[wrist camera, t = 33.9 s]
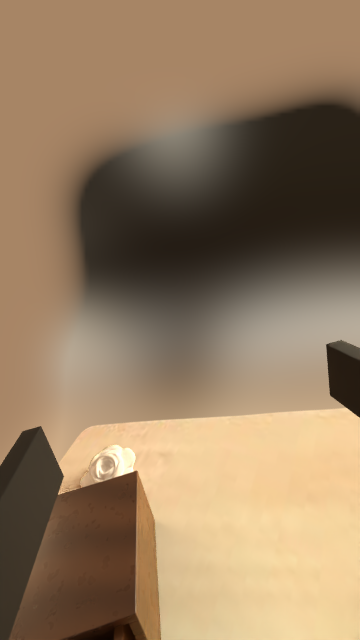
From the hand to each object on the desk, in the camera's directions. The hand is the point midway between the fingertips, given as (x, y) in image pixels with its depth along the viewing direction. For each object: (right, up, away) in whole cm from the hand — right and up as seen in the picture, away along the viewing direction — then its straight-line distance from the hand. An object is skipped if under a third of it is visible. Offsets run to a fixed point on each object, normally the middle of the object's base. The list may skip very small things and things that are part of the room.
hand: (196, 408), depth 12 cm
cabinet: (-10, -29, +19) cm, 36 cm away
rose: (-13, -25, +36) cm, 46 cm away
